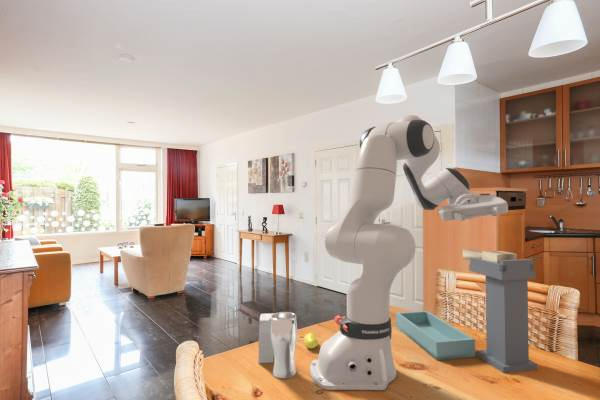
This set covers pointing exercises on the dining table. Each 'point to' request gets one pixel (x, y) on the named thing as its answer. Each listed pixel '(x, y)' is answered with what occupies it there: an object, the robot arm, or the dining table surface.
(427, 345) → the teal bin
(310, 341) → the lemon
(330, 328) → the dining table surface
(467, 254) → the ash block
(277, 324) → the beer glass
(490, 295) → the chute stand
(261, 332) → the skincare box
